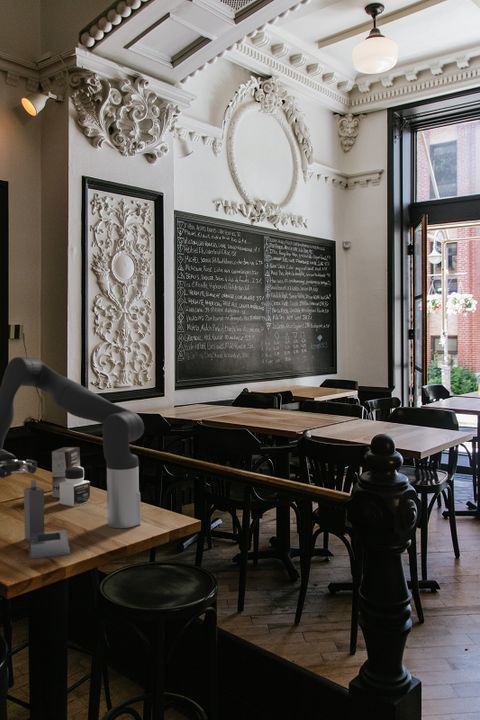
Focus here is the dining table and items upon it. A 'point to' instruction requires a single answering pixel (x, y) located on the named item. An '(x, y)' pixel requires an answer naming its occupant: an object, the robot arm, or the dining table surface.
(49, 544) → the socket
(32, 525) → the plug
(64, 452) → the coffee box
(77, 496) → the medicine bottle
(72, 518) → the dining table surface
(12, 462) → the robot arm
